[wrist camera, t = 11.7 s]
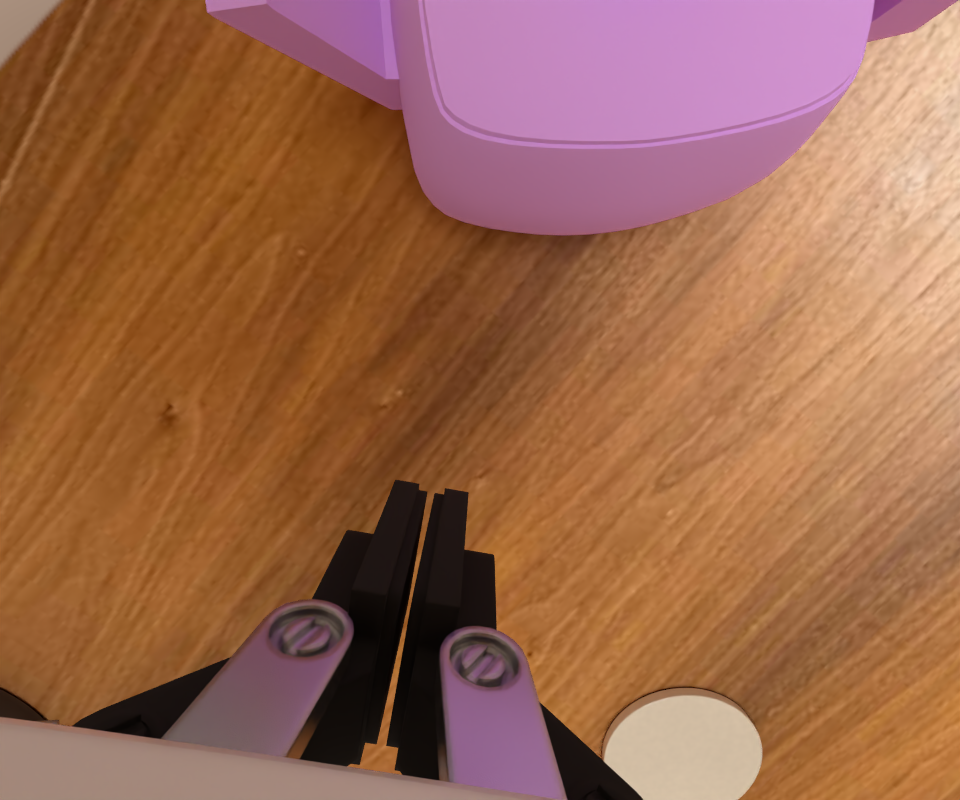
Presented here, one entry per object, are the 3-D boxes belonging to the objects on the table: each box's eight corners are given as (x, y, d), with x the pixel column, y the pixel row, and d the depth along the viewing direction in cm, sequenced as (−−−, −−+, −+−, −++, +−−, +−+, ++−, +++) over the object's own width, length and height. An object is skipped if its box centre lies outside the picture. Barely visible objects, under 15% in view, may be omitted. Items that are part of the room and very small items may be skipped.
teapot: (820, -120, 20) (1382, -784, 7) (795, 222, 23) (1159, 166, 10) (306, -68, 20) (21, -586, 8) (348, 256, 23) (189, 243, 11)
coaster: (585, 796, 31) (587, 807, 30) (623, 675, 29) (626, 683, 28) (730, 821, 31) (734, 831, 30) (778, 701, 29) (784, 710, 28)
